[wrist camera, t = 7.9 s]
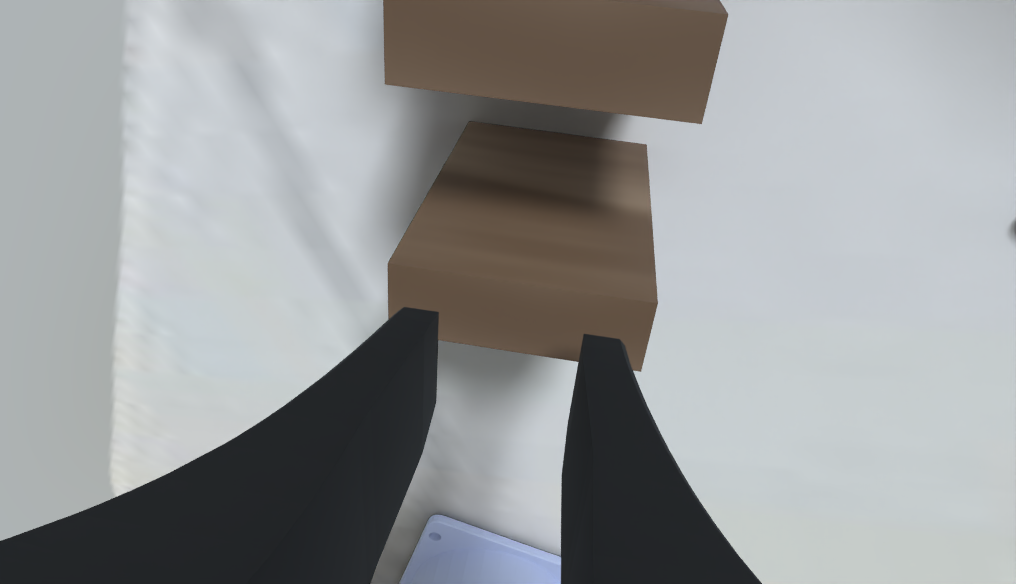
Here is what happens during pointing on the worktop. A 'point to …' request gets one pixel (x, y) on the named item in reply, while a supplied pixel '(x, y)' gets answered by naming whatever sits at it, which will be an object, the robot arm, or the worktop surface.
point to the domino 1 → (561, 52)
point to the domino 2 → (533, 244)
